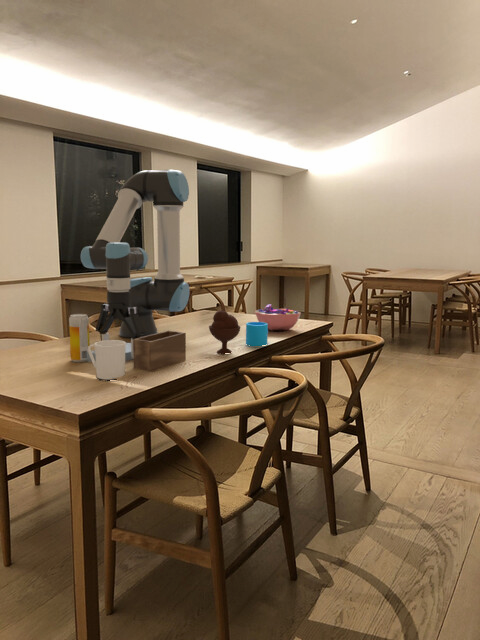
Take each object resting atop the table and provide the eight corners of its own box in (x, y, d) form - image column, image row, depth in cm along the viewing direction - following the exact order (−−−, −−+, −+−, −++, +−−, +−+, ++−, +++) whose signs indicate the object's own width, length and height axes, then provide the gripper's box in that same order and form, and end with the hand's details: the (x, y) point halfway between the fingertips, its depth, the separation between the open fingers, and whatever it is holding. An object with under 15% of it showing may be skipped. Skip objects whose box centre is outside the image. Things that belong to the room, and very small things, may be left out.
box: (133, 371, 163) (133, 339, 162) (168, 360, 178) (168, 330, 176) (151, 374, 160) (151, 342, 158) (185, 363, 174) (185, 332, 173)
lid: (87, 364, 173) (87, 352, 172) (126, 353, 188) (126, 342, 187) (113, 369, 167) (112, 356, 166) (150, 357, 182) (150, 346, 182)
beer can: (82, 357, 180) (81, 313, 177) (93, 360, 176) (92, 315, 173) (66, 360, 175) (65, 315, 173) (77, 363, 171) (76, 317, 169)
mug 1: (129, 373, 161) (128, 340, 159) (123, 382, 152) (122, 346, 150) (92, 373, 160) (91, 339, 159) (84, 381, 152) (83, 346, 150)
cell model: (299, 335, 223) (300, 308, 221) (251, 332, 226) (252, 306, 224) (301, 327, 240) (302, 302, 238) (256, 325, 243) (257, 301, 241)
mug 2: (260, 348, 198) (260, 326, 196) (241, 345, 202) (242, 324, 201) (276, 342, 208) (276, 321, 206) (257, 340, 212) (258, 319, 211)
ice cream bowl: (213, 357, 183) (213, 313, 180) (206, 349, 193) (206, 308, 191) (243, 355, 186) (243, 312, 183) (234, 348, 196) (235, 308, 194)
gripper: (83, 288, 176) (85, 352, 180) (139, 294, 164) (140, 362, 168) (99, 287, 183) (101, 348, 186) (155, 292, 171) (156, 358, 174)
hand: (120, 355), depth 177 cm, fingers open, 12 cm apart
